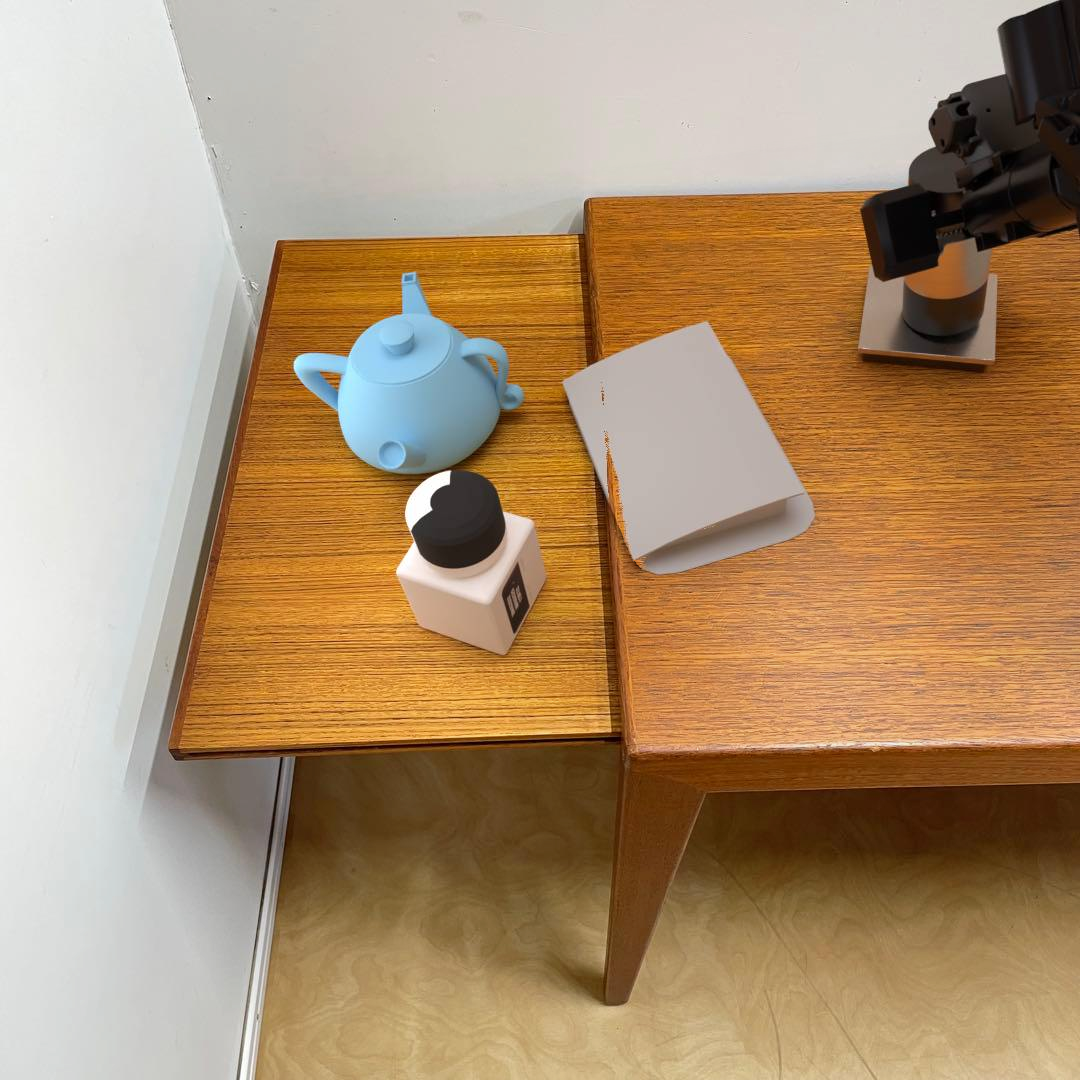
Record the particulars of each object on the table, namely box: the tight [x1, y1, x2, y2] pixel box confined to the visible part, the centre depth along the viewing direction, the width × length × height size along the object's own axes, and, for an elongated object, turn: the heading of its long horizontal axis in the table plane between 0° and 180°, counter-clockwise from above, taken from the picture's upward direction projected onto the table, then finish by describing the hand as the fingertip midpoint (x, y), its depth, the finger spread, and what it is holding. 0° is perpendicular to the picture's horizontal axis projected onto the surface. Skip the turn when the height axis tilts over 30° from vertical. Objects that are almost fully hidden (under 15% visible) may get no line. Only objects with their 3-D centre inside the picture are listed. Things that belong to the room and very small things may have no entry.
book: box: [561, 320, 816, 576], centre depth 82 cm, size 15×23×4 cm, turn 15°
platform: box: [856, 265, 999, 373], centre depth 88 cm, size 11×11×2 cm
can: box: [902, 146, 993, 336], centre depth 81 cm, size 7×7×14 cm
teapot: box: [293, 271, 525, 475], centre depth 85 cm, size 15×17×11 cm
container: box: [395, 469, 547, 656], centre depth 72 cm, size 8×8×13 cm
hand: (938, 229), depth 81 cm, fingers closed on can, 7 cm apart
